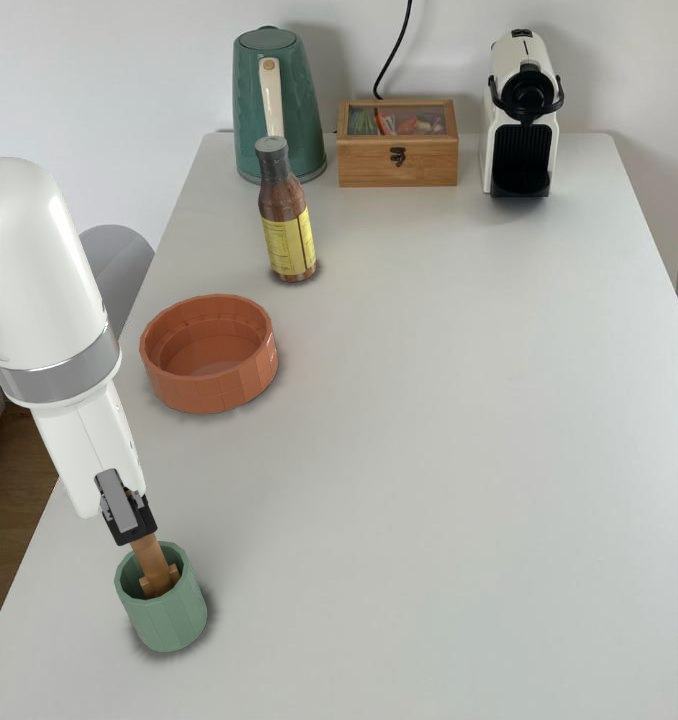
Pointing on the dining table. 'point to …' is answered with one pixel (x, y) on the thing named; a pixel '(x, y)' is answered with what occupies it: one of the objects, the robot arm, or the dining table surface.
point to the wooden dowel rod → (154, 566)
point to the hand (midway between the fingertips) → (132, 522)
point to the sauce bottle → (284, 213)
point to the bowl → (209, 353)
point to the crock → (163, 603)
